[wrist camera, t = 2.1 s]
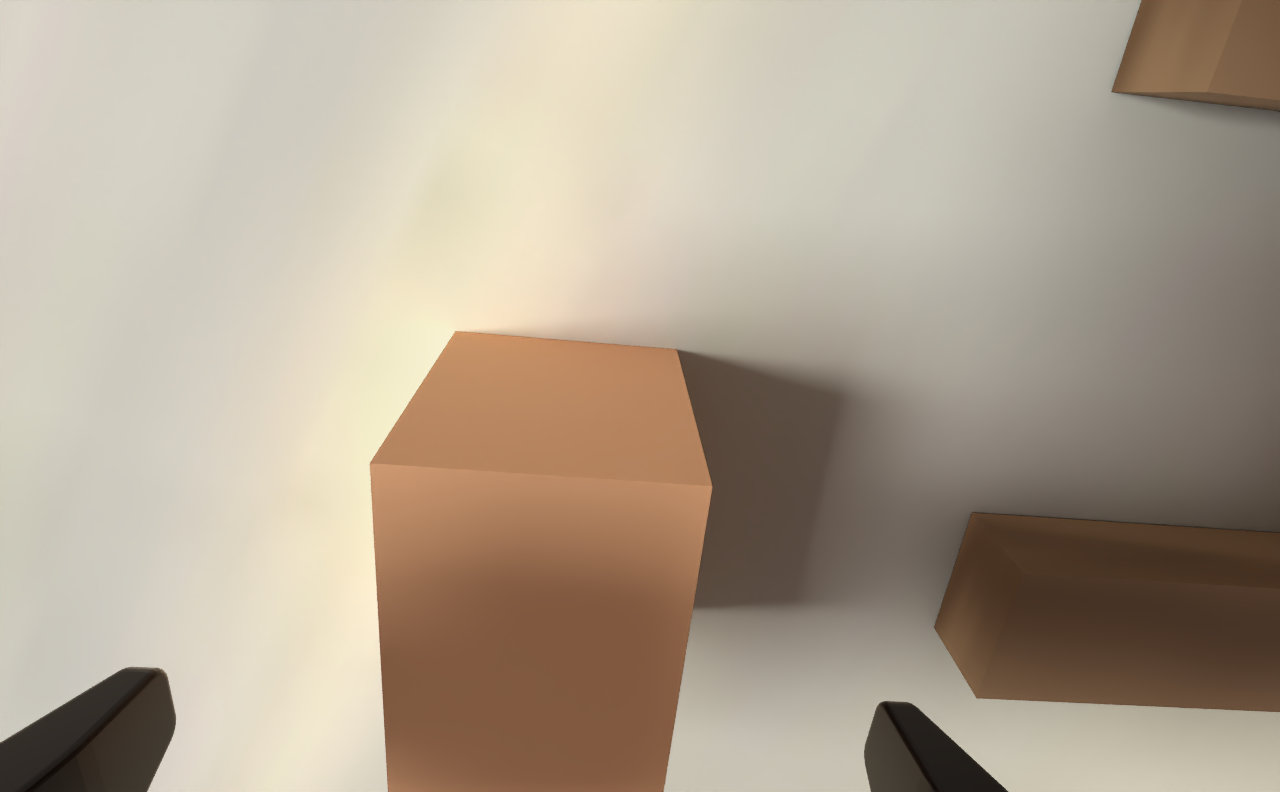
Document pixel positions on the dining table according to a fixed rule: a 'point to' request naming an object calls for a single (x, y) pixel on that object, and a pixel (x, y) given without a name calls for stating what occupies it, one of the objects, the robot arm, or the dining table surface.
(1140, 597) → the notched board
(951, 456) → the dining table surface
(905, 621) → the dining table surface
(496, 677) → the block
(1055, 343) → the dining table surface
